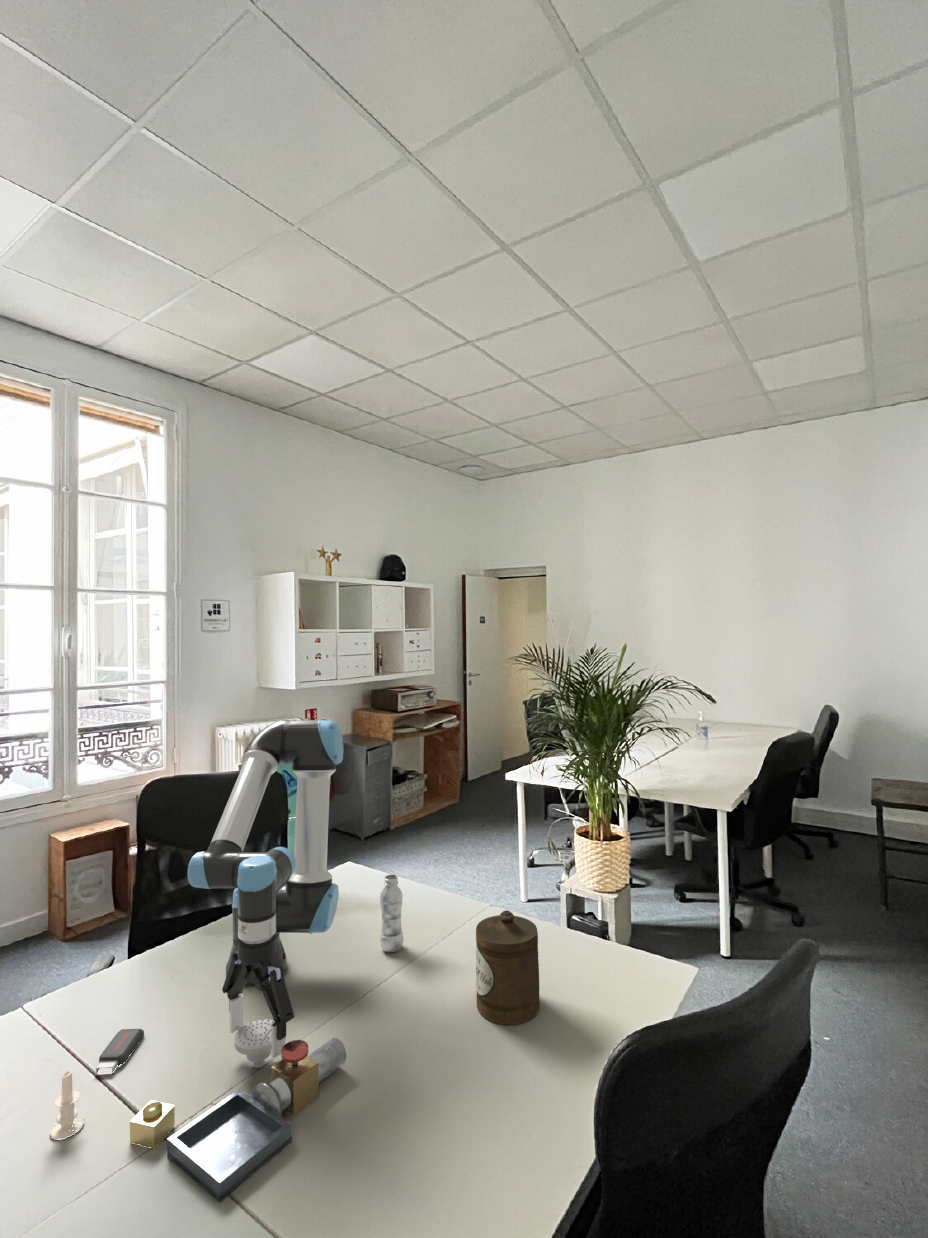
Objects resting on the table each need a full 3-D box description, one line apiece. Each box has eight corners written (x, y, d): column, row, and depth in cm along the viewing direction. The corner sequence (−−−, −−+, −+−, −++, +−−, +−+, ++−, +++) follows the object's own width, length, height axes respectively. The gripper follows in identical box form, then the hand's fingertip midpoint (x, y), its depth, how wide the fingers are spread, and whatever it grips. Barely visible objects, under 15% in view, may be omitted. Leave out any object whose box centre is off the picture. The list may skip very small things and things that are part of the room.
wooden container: (476, 987, 156) (476, 898, 157) (536, 988, 156) (535, 898, 156) (476, 1025, 141) (475, 927, 142) (542, 1026, 141) (541, 927, 141)
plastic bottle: (407, 945, 177) (406, 874, 177) (397, 957, 171) (396, 883, 171) (386, 942, 179) (386, 871, 179) (375, 953, 173) (375, 880, 173)
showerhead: (247, 1012, 135) (290, 1017, 133) (247, 1046, 135) (290, 1052, 133) (222, 1040, 126) (268, 1046, 124) (222, 1077, 126) (268, 1083, 124)
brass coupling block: (130, 1144, 110) (129, 1116, 110) (151, 1122, 115) (151, 1096, 115) (154, 1150, 108) (154, 1122, 109) (174, 1128, 113) (174, 1101, 113)
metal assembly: (167, 1160, 107) (167, 1100, 107) (313, 1054, 133) (312, 1006, 133) (219, 1206, 98) (219, 1141, 98) (364, 1084, 124) (364, 1032, 125)
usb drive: (144, 1038, 139) (144, 1025, 139) (117, 1077, 127) (117, 1063, 127) (119, 1039, 138) (119, 1026, 138) (90, 1078, 126) (90, 1064, 127)
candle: (47, 1145, 110) (47, 1084, 110) (53, 1123, 114) (53, 1065, 115) (81, 1135, 112) (81, 1076, 112) (86, 1114, 117) (86, 1057, 117)
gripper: (205, 927, 134) (204, 1029, 133) (281, 961, 120) (281, 1076, 119) (236, 914, 140) (235, 1011, 139) (312, 945, 126) (312, 1054, 125)
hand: (256, 1041), depth 129 cm, fingers open, 13 cm apart
